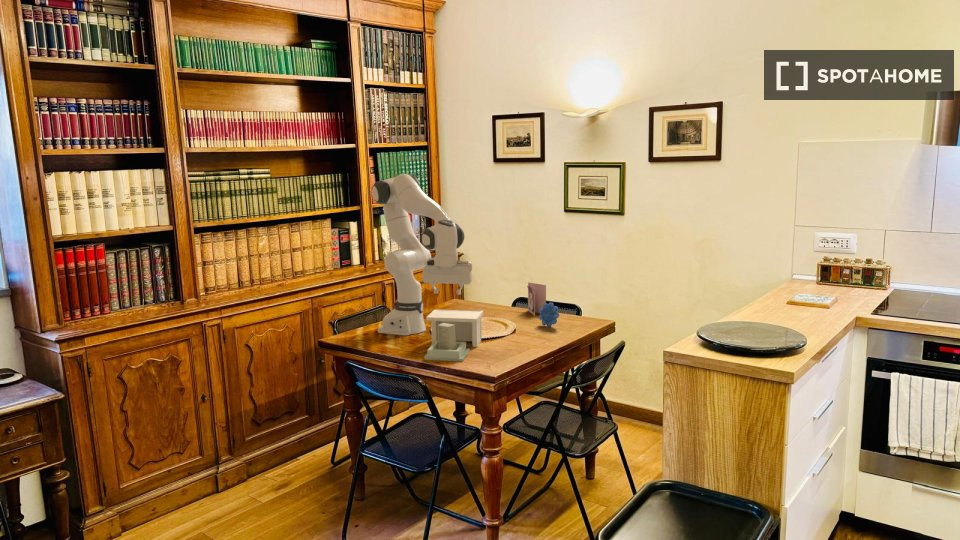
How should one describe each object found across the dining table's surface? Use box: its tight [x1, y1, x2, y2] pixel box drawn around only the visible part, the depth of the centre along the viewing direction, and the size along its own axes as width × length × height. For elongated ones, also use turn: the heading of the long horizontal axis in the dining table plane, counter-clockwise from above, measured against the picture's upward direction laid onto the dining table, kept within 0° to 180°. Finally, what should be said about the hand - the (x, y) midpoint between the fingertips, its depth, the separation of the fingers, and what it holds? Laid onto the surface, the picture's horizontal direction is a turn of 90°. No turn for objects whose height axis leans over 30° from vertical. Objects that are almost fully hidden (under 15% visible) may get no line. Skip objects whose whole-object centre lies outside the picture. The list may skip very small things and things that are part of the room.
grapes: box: [538, 302, 560, 328], centre depth 324 cm, size 12×7×12 cm, turn 47°
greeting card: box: [526, 282, 547, 317], centre depth 349 cm, size 11×7×15 cm, turn 13°
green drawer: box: [423, 341, 470, 362], centre depth 283 cm, size 16×14×4 cm
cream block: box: [425, 308, 484, 348], centre depth 298 cm, size 22×14×14 cm, turn 79°
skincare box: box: [438, 323, 457, 350], centre depth 282 cm, size 6×4×12 cm
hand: (447, 294), depth 281 cm, fingers open, 8 cm apart
